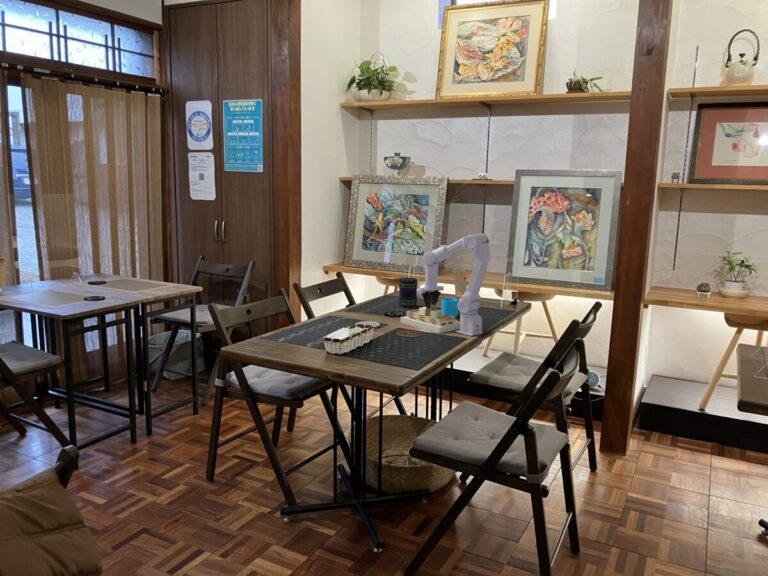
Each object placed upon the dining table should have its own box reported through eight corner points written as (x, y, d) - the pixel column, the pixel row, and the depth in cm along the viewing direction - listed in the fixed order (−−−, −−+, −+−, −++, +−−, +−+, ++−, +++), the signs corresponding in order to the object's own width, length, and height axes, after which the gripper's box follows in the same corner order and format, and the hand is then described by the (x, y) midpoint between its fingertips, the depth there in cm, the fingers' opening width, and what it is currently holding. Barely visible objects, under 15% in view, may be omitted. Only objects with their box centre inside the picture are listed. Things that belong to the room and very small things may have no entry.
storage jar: (394, 306, 331) (394, 278, 328) (407, 304, 337) (408, 276, 334) (407, 309, 323) (408, 281, 321) (421, 307, 330) (421, 279, 327)
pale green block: (442, 317, 285) (442, 311, 284) (436, 318, 282) (436, 312, 282) (436, 315, 288) (436, 309, 287) (430, 317, 285) (430, 310, 285)
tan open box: (455, 323, 283) (455, 308, 282) (439, 326, 277) (439, 310, 276) (422, 314, 300) (422, 299, 298) (406, 316, 294) (406, 302, 292)
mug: (452, 318, 304) (453, 301, 303) (438, 316, 309) (438, 299, 307) (463, 313, 314) (464, 298, 313) (449, 311, 319) (449, 296, 317)
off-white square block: (431, 314, 290) (431, 308, 290) (424, 315, 288) (425, 309, 287) (425, 312, 293) (425, 306, 293) (419, 314, 291) (419, 307, 290)
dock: (464, 327, 285) (464, 322, 284) (439, 333, 275) (439, 327, 274) (425, 317, 304) (425, 312, 304) (400, 322, 294) (400, 316, 294)
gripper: (436, 275, 293) (435, 303, 295) (413, 278, 283) (413, 307, 286) (447, 277, 287) (446, 306, 290) (424, 280, 278) (423, 310, 280)
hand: (430, 307), depth 287 cm, fingers closed on tan open box, 3 cm apart
